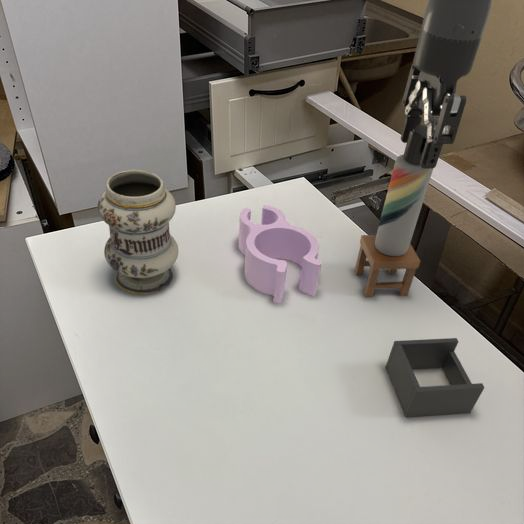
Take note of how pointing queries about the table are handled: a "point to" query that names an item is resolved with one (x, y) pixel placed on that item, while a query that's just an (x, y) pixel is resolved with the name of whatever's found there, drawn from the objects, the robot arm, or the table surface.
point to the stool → (385, 266)
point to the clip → (277, 252)
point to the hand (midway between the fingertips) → (416, 154)
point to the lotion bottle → (404, 197)
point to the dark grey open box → (432, 397)
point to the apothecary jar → (139, 230)
